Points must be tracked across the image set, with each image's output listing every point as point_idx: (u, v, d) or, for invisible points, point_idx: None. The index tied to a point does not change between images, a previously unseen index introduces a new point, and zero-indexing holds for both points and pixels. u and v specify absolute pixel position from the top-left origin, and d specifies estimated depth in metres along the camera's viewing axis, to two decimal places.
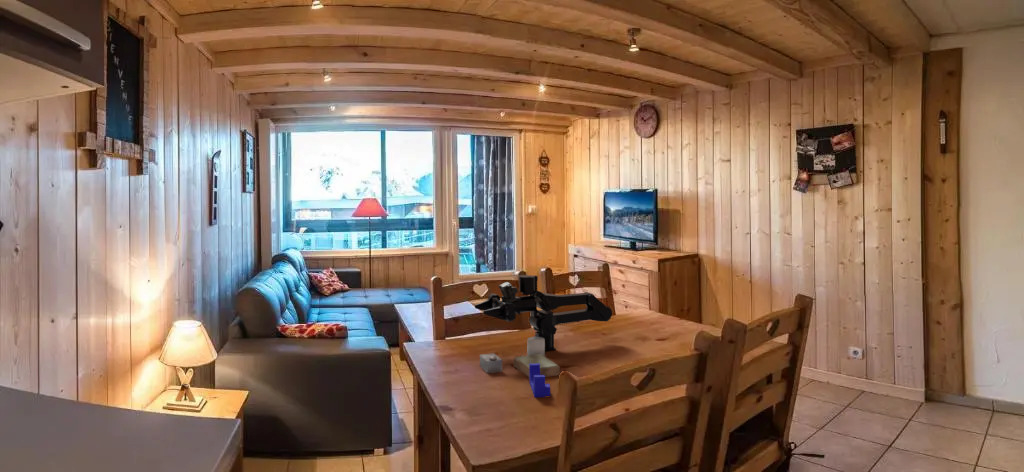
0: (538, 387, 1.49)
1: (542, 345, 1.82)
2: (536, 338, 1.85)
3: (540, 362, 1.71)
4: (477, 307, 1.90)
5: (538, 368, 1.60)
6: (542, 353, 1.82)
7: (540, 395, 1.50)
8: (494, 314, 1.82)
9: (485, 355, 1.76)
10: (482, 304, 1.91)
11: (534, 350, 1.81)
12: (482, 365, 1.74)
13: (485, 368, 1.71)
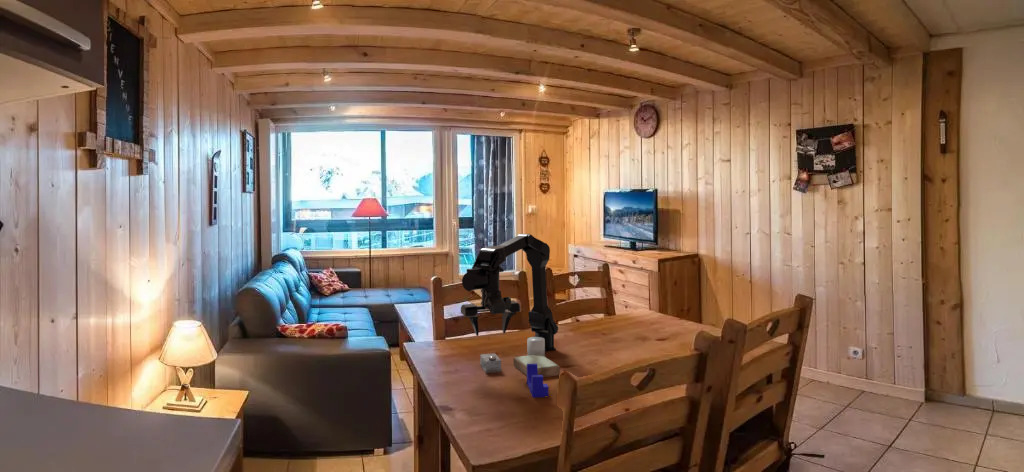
0: (536, 387, 1.49)
1: (542, 345, 1.82)
2: (536, 338, 1.85)
3: (540, 362, 1.71)
4: None
5: (536, 368, 1.60)
6: (542, 353, 1.82)
7: (538, 395, 1.49)
8: None
9: (485, 355, 1.76)
10: None
11: (534, 350, 1.81)
12: (482, 365, 1.75)
13: (484, 368, 1.71)
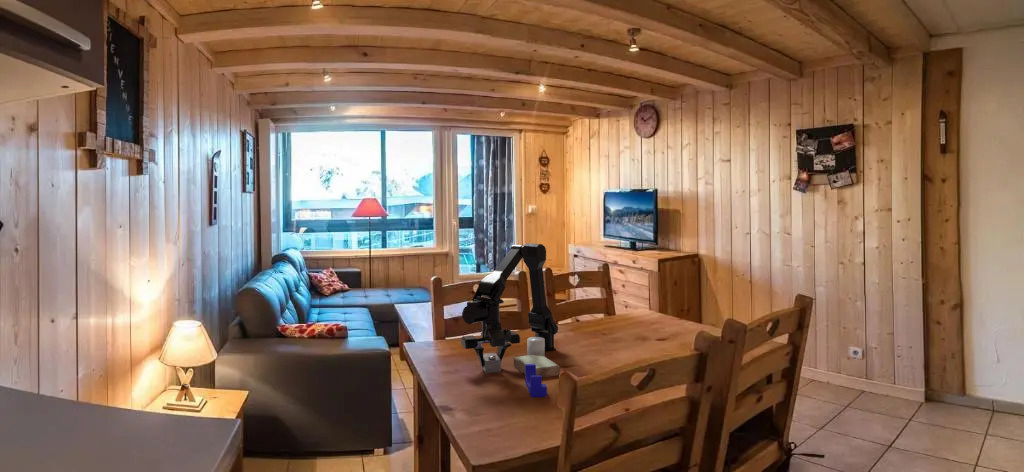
0: (535, 387, 1.49)
1: (542, 345, 1.82)
2: (536, 338, 1.85)
3: (540, 362, 1.71)
4: None
5: (534, 368, 1.60)
6: (542, 353, 1.82)
7: (537, 395, 1.49)
8: None
9: (486, 354, 1.76)
10: None
11: (534, 350, 1.81)
12: None
13: (484, 367, 1.72)
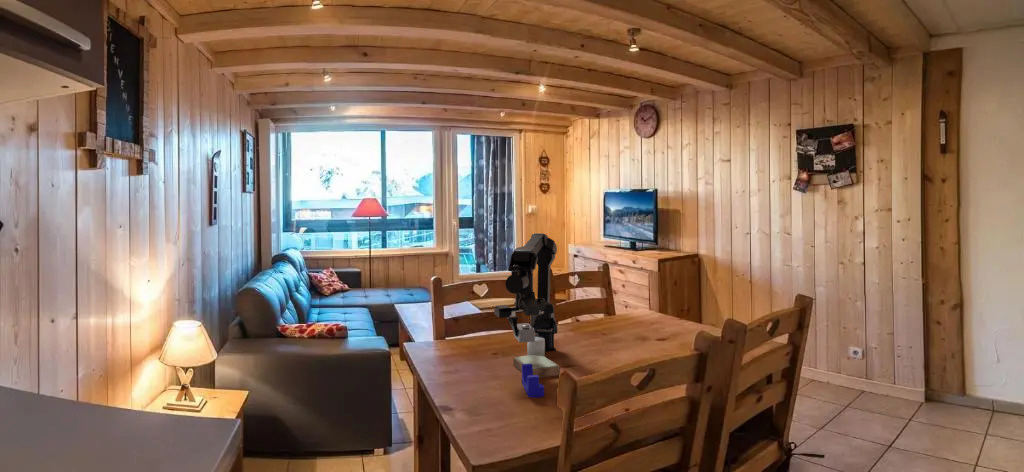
0: (532, 387, 1.49)
1: (542, 345, 1.82)
2: (536, 338, 1.85)
3: (540, 362, 1.71)
4: None
5: (531, 368, 1.59)
6: (542, 353, 1.82)
7: (534, 395, 1.49)
8: None
9: (519, 324, 1.75)
10: None
11: (534, 350, 1.81)
12: None
13: (518, 336, 1.70)
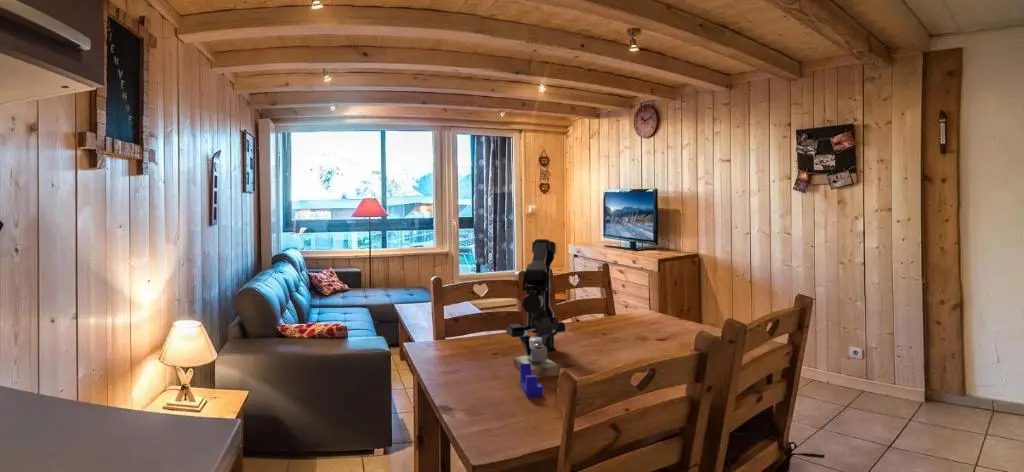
0: (530, 387, 1.49)
1: None
2: (536, 338, 1.85)
3: (540, 362, 1.71)
4: None
5: (529, 368, 1.59)
6: None
7: (532, 395, 1.49)
8: None
9: (530, 343, 1.75)
10: None
11: None
12: None
13: (530, 355, 1.70)
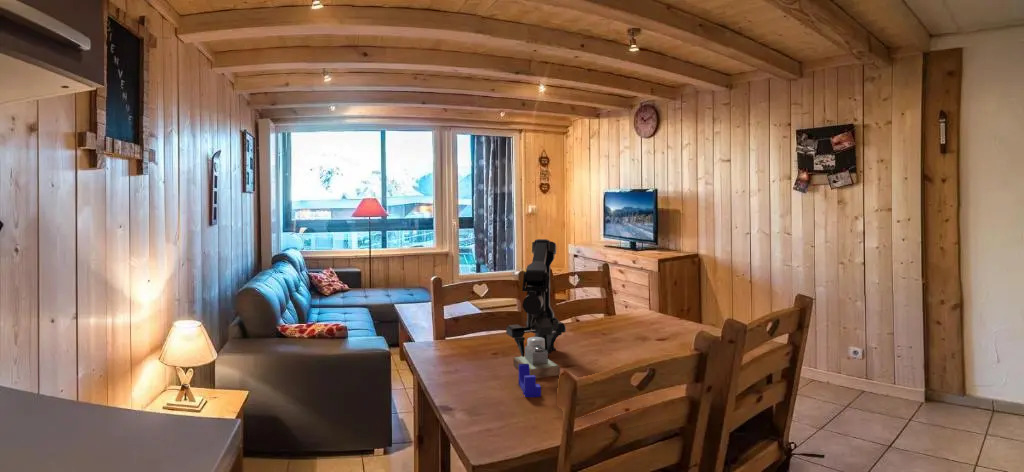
0: (529, 387, 1.49)
1: (542, 345, 1.82)
2: (536, 338, 1.85)
3: None
4: None
5: (527, 368, 1.59)
6: None
7: (531, 395, 1.49)
8: None
9: (530, 346, 1.75)
10: None
11: None
12: (527, 356, 1.73)
13: (531, 359, 1.70)
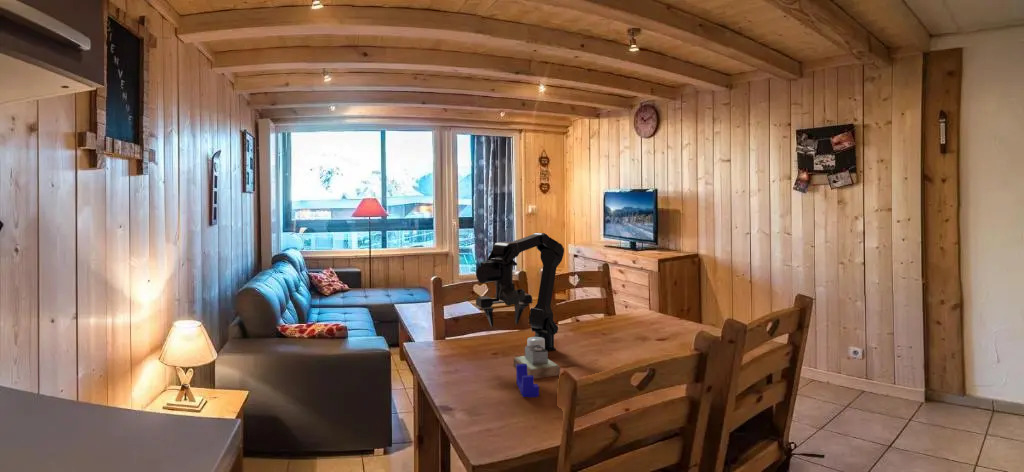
0: (527, 387, 1.49)
1: (542, 345, 1.82)
2: (536, 338, 1.85)
3: None
4: None
5: (525, 368, 1.59)
6: None
7: (529, 395, 1.49)
8: None
9: (530, 346, 1.75)
10: None
11: None
12: (527, 356, 1.73)
13: (531, 359, 1.70)
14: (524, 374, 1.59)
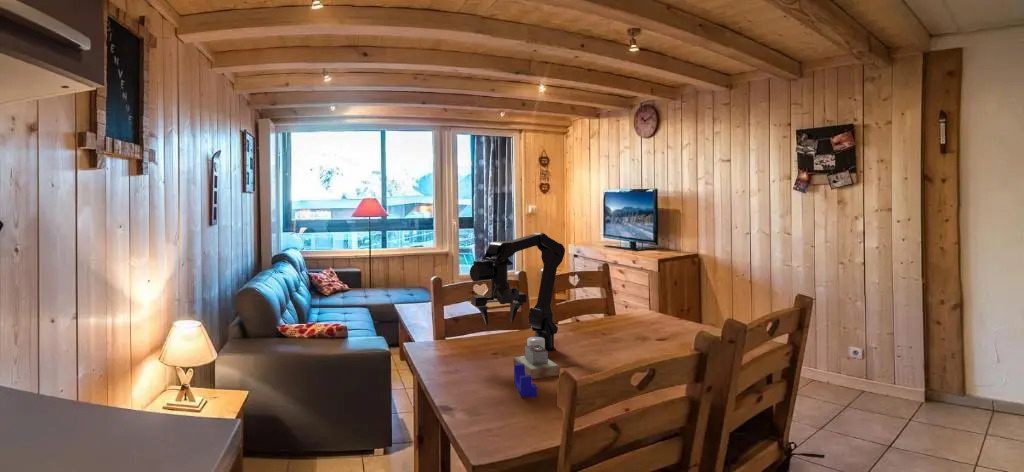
0: (525, 387, 1.49)
1: (542, 345, 1.82)
2: (536, 338, 1.85)
3: None
4: None
5: (523, 368, 1.59)
6: None
7: (527, 395, 1.49)
8: None
9: (530, 346, 1.75)
10: None
11: None
12: (527, 356, 1.73)
13: (531, 359, 1.70)
14: (522, 374, 1.59)
